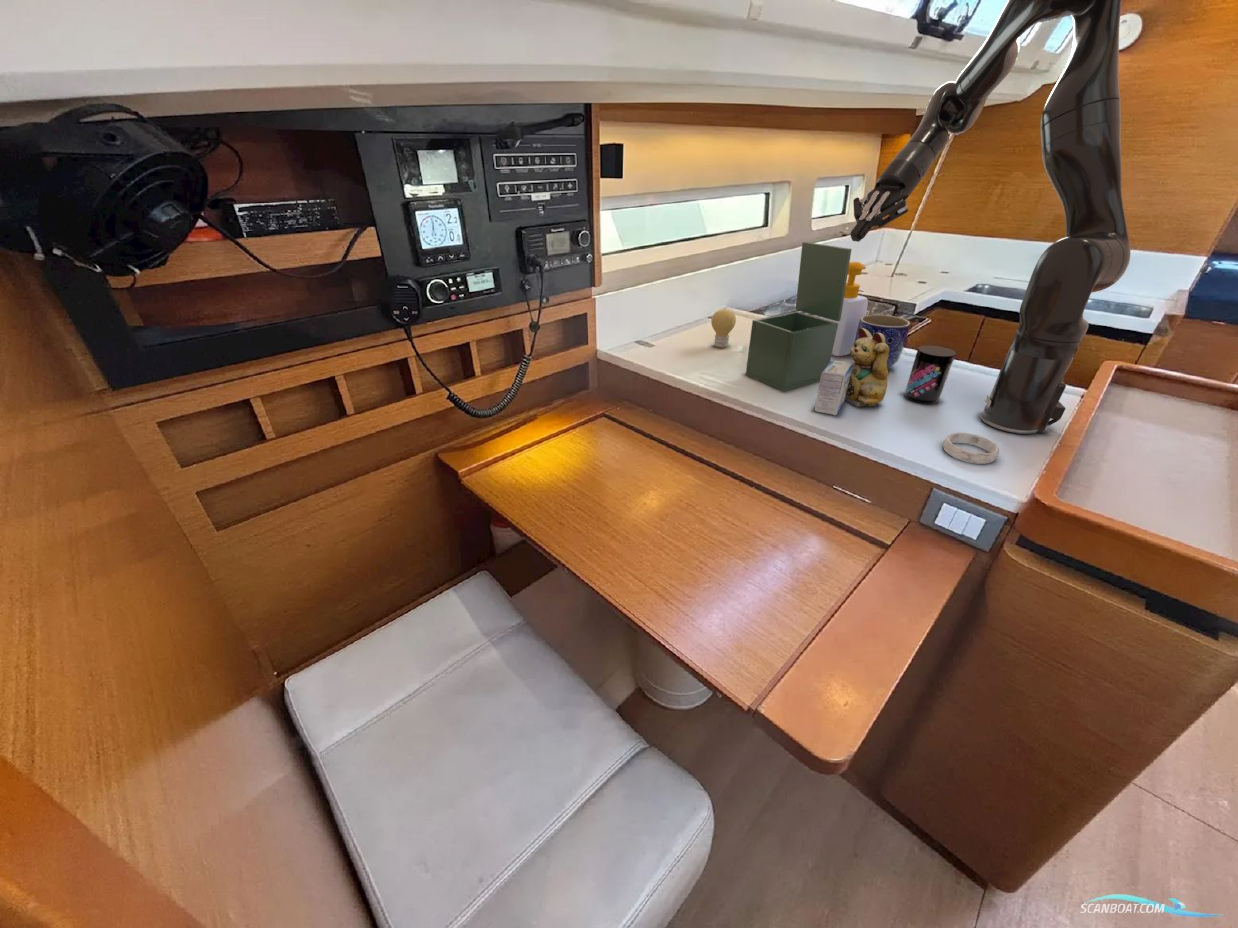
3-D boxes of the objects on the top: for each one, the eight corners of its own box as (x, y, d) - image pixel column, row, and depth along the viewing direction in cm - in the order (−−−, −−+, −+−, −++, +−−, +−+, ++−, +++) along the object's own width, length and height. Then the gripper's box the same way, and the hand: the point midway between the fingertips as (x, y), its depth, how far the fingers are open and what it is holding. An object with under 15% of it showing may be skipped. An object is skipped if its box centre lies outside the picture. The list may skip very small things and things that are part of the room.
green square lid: (849, 249, 100) (851, 248, 101) (802, 242, 109) (804, 242, 109) (837, 321, 109) (840, 320, 109) (795, 309, 117) (797, 309, 118)
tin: (783, 391, 110) (793, 333, 103) (745, 374, 118) (752, 320, 112) (826, 379, 116) (838, 323, 109) (787, 363, 125) (796, 311, 118)
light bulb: (737, 346, 137) (741, 309, 132) (724, 351, 133) (728, 314, 128) (717, 341, 140) (721, 305, 135) (704, 346, 137) (707, 309, 131)
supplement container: (898, 391, 109) (912, 345, 104) (930, 392, 109) (946, 345, 103) (911, 404, 103) (926, 356, 98) (945, 405, 103) (962, 356, 97)
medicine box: (836, 416, 99) (846, 375, 94) (813, 411, 101) (821, 371, 96) (844, 402, 105) (854, 362, 100) (822, 397, 107) (830, 359, 102)
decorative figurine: (830, 395, 108) (845, 326, 100) (859, 389, 110) (877, 321, 103) (863, 412, 100) (883, 339, 92) (894, 406, 103) (916, 334, 95)
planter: (907, 370, 120) (922, 324, 114) (871, 376, 117) (884, 329, 111) (873, 356, 129) (885, 312, 123) (839, 361, 126) (849, 317, 120)
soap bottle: (820, 338, 142) (837, 255, 130) (862, 352, 131) (885, 262, 120) (796, 344, 137) (812, 258, 126) (838, 358, 127) (859, 266, 116)
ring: (971, 439, 90) (975, 429, 89) (1008, 462, 83) (1012, 452, 82) (931, 443, 89) (934, 433, 88) (964, 466, 82) (969, 456, 81)
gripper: (873, 158, 110) (823, 223, 111) (931, 157, 100) (876, 229, 101) (881, 185, 115) (834, 247, 116) (938, 187, 105) (886, 254, 106)
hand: (854, 238), depth 108 cm, fingers closed
